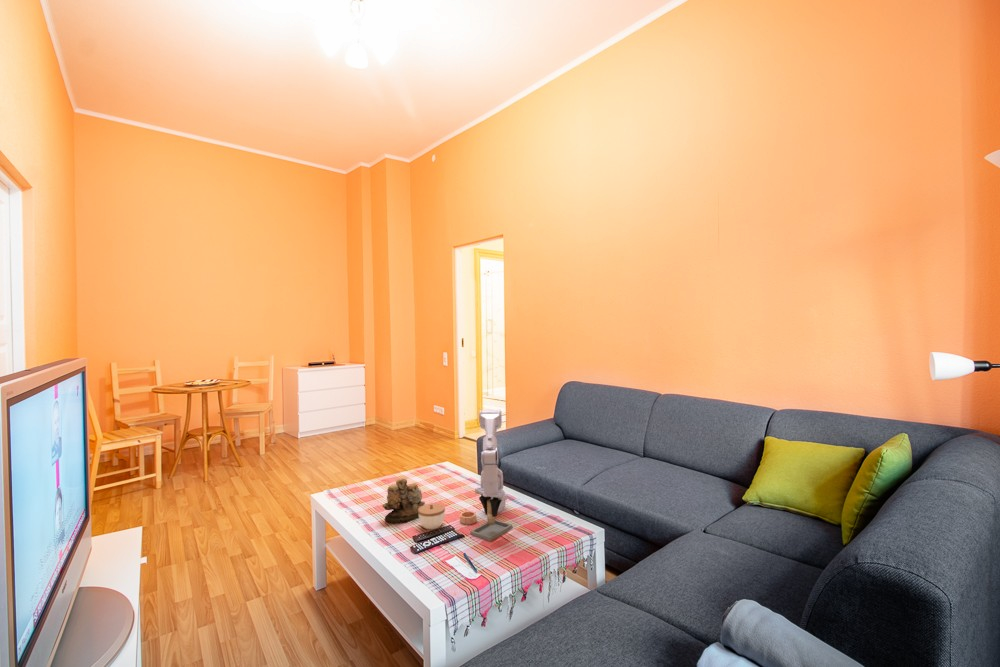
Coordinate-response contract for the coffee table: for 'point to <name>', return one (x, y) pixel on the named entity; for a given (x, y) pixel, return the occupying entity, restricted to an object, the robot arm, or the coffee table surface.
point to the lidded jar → (431, 515)
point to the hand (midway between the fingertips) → (491, 515)
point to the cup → (468, 517)
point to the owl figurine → (403, 502)
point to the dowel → (490, 514)
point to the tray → (491, 530)
